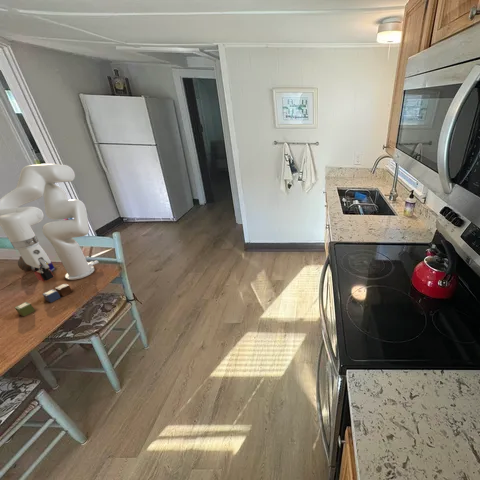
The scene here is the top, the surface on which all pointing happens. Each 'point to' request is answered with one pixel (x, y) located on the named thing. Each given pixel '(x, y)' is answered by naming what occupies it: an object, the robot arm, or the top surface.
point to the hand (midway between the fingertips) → (45, 277)
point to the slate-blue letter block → (51, 295)
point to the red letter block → (39, 275)
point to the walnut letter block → (63, 289)
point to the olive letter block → (24, 309)
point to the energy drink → (50, 265)
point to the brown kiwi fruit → (24, 265)
